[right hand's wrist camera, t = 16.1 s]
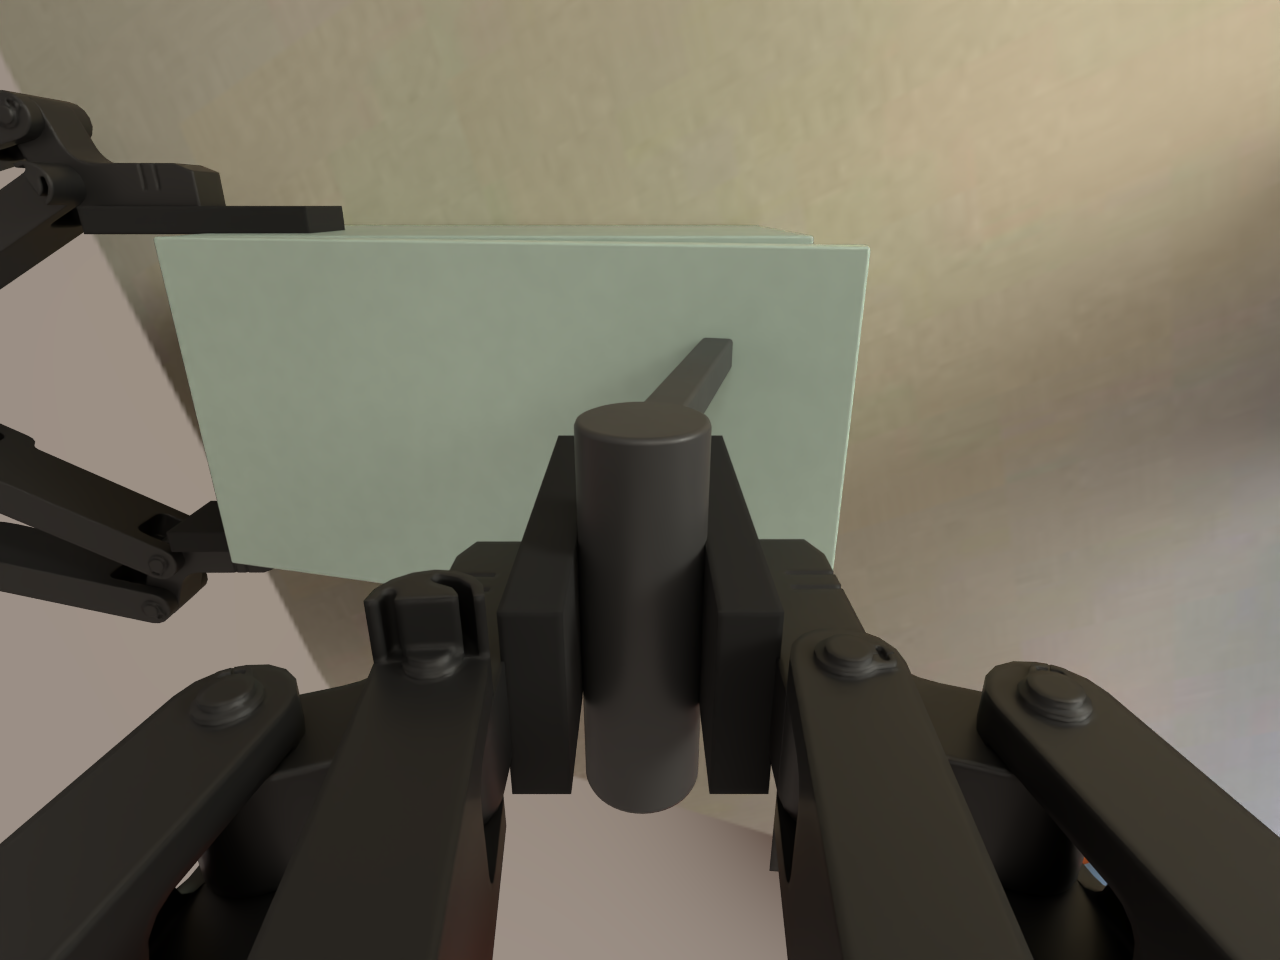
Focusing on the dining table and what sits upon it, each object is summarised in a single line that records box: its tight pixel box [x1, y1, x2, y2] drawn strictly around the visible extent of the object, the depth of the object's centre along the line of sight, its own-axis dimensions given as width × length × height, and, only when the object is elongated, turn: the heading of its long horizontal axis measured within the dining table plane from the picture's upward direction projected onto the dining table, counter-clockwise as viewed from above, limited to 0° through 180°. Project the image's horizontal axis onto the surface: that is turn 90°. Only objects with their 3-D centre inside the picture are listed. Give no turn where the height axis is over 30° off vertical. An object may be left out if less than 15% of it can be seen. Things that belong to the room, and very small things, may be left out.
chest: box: [181, 225, 814, 244], centre depth 25 cm, size 17×10×10 cm, turn 90°
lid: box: [154, 236, 870, 814], centre depth 15 cm, size 18×10×9 cm, turn 90°
